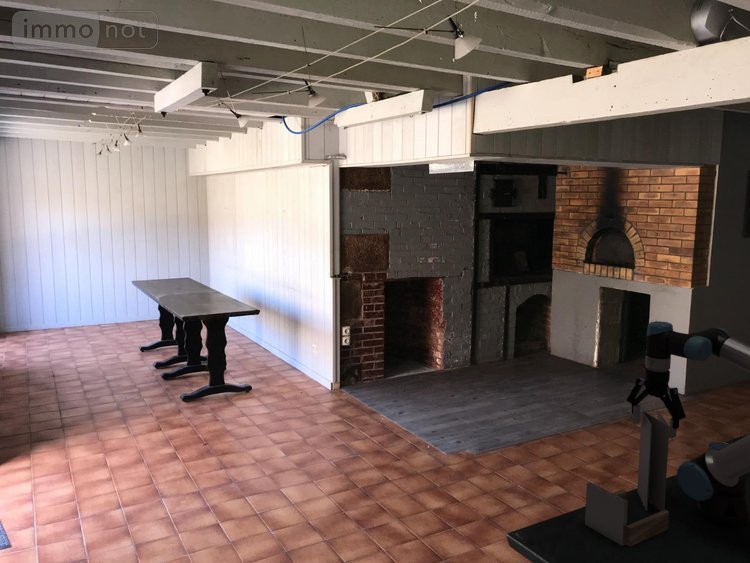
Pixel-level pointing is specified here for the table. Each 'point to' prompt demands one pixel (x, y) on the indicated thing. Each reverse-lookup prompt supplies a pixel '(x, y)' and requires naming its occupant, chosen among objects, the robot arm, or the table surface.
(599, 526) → the bookend
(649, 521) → the slot rails
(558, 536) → the table surface
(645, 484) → the brochure
